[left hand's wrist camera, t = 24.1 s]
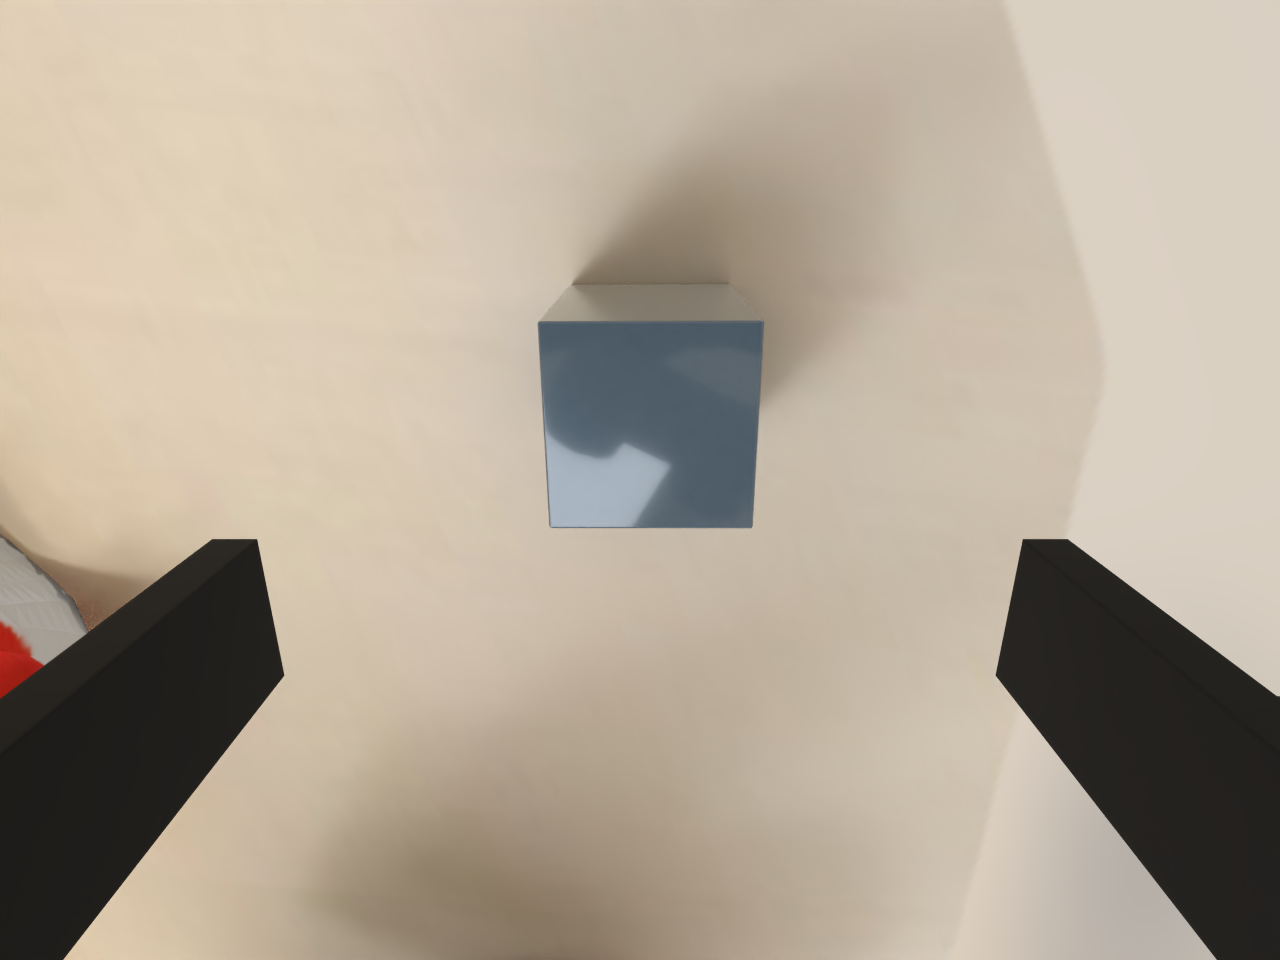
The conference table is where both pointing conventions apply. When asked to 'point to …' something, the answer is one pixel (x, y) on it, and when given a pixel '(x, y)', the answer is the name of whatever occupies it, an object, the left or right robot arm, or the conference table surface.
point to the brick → (651, 406)
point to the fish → (31, 618)
